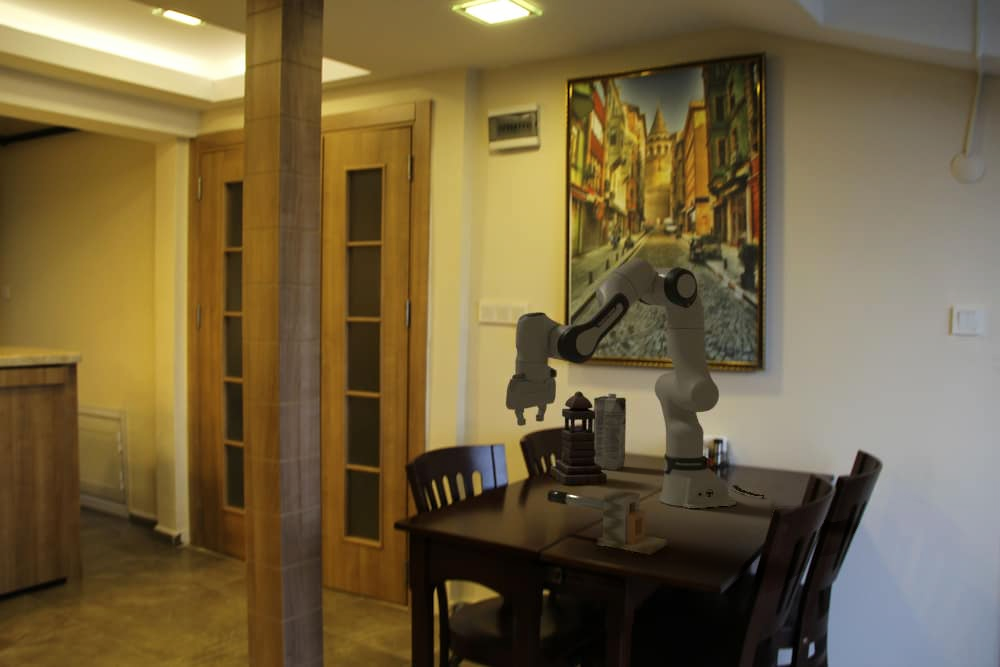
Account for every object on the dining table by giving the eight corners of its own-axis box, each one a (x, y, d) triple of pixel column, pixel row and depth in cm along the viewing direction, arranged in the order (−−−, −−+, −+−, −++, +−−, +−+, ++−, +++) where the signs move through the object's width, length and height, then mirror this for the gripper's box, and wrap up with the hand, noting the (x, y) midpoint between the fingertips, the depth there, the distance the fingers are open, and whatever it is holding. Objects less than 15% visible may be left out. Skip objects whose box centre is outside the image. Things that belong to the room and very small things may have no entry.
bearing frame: (597, 545, 202) (598, 496, 202) (615, 535, 210) (616, 488, 210) (649, 555, 194) (651, 504, 194) (666, 545, 202) (667, 496, 202)
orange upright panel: (626, 543, 199) (627, 514, 199) (638, 536, 205) (639, 508, 205) (632, 544, 198) (633, 515, 198) (644, 537, 204) (644, 509, 204)
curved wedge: (743, 500, 253) (743, 495, 252) (731, 490, 266) (731, 485, 266) (770, 500, 253) (770, 495, 252) (756, 490, 266) (756, 485, 266)
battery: (616, 471, 290) (618, 396, 288) (590, 468, 295) (591, 393, 294) (627, 467, 297) (628, 393, 296) (601, 464, 303) (602, 391, 302)
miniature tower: (607, 483, 270) (608, 393, 269) (564, 485, 267) (565, 394, 266) (590, 473, 286) (592, 388, 285) (549, 475, 283) (551, 389, 282)
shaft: (547, 502, 214) (547, 491, 214) (553, 500, 216) (553, 488, 216) (611, 513, 203) (611, 501, 203) (616, 511, 206) (616, 499, 206)
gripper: (520, 375, 210) (519, 429, 211) (560, 370, 227) (559, 420, 228) (500, 374, 214) (499, 426, 215) (540, 369, 231) (540, 418, 231)
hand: (530, 423), depth 221 cm, fingers open, 8 cm apart
